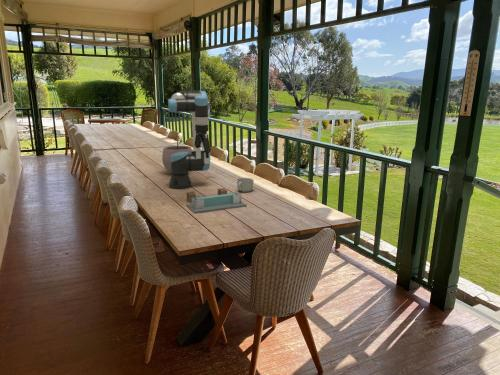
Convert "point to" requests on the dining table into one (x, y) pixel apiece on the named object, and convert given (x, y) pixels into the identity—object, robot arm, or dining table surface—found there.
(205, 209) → the cap board
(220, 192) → the block
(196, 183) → the dining table surface
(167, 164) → the plant pot
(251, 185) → the teacup
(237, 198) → the end caps
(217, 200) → the slat
